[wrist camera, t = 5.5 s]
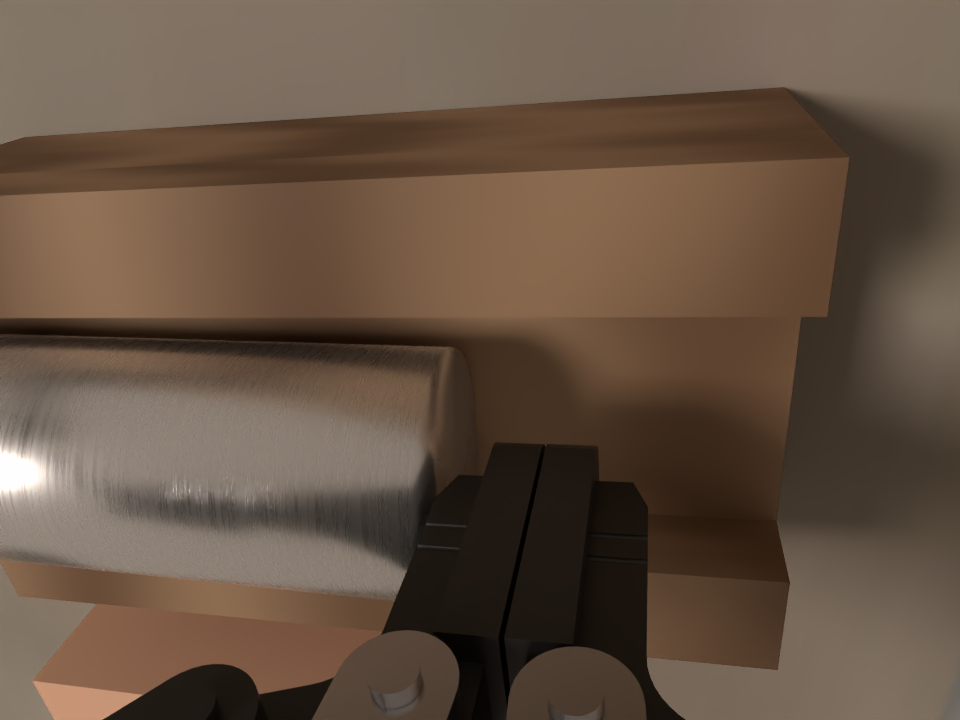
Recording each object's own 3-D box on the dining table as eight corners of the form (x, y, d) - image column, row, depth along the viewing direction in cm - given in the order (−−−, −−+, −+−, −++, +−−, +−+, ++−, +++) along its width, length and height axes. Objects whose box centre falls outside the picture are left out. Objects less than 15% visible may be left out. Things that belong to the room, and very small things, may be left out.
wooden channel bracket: (148, 461, 21) (18, 595, 16) (24, 137, 17) (-195, 204, 12) (745, 490, 17) (777, 669, 13) (784, 87, 13) (850, 157, 9)
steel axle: (-172, 455, 18) (-380, 566, 14) (-249, 297, 16) (-505, 377, 12) (481, 504, 14) (426, 665, 11) (468, 310, 13) (398, 424, 9)
